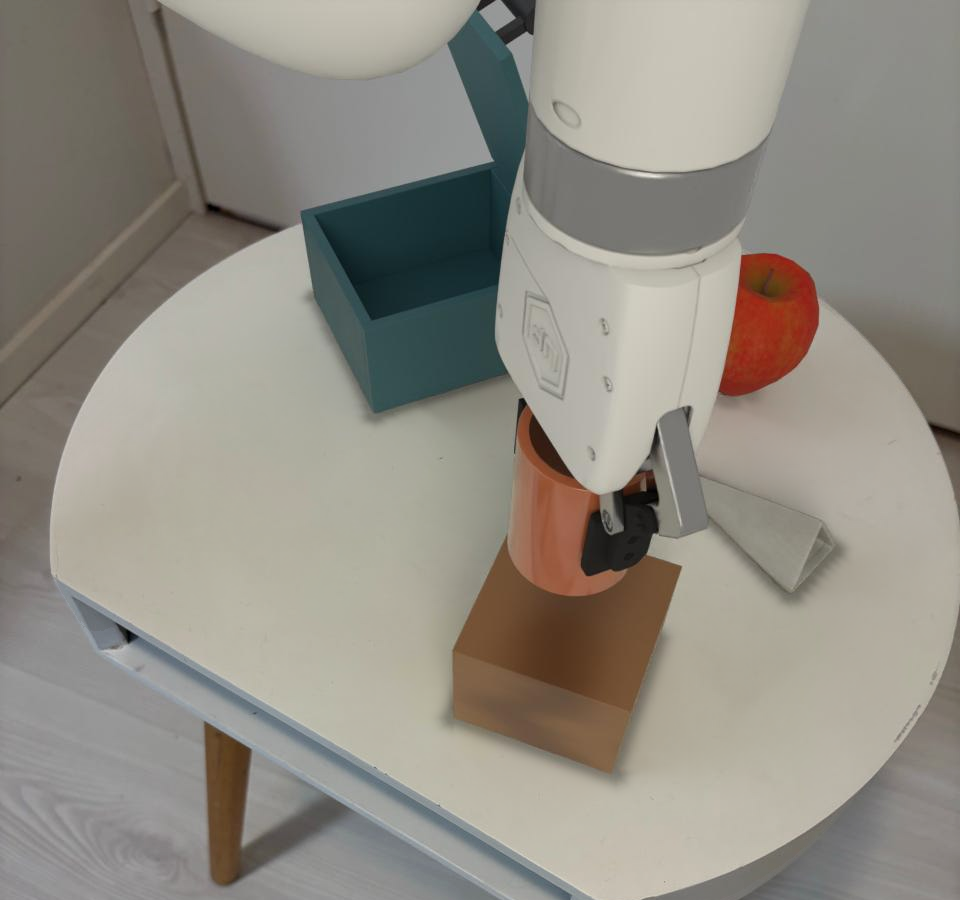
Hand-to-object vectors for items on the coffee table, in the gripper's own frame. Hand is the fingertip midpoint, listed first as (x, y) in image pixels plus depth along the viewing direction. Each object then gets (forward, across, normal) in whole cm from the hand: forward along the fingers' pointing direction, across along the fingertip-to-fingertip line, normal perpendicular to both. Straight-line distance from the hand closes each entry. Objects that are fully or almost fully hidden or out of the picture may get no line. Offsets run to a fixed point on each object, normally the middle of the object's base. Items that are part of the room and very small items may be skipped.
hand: (578, 503), depth 47 cm
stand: (+17, 0, +1) cm, 17 cm away
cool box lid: (+1, -32, +10) cm, 33 cm away
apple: (+17, -17, +23) cm, 33 cm away
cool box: (+17, -31, +6) cm, 36 cm away
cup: (+3, 0, 0) cm, 3 cm away
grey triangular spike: (+17, -5, +16) cm, 24 cm away
